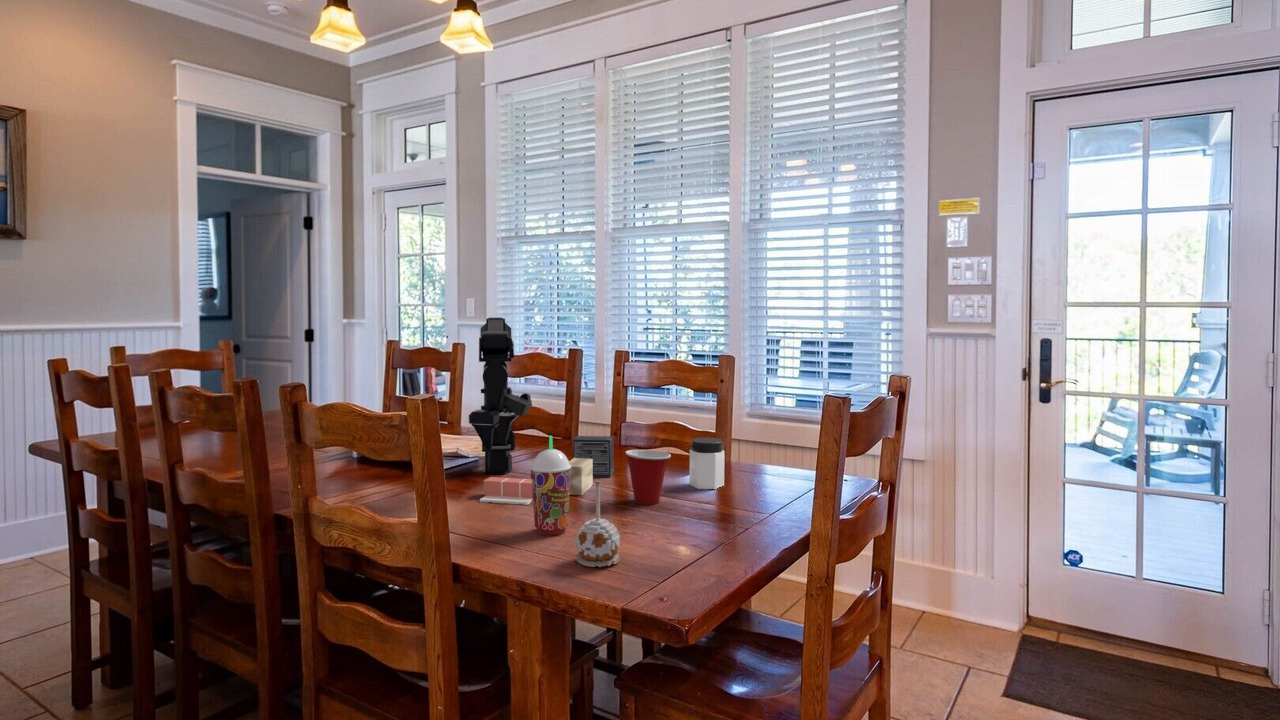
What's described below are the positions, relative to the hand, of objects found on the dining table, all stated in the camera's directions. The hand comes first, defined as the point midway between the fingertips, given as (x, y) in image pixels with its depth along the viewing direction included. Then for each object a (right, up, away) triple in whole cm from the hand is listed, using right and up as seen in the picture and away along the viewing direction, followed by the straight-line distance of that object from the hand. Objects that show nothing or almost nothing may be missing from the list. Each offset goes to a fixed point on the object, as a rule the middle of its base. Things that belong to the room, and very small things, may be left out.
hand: (496, 447), depth 178 cm
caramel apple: (+28, -16, -45) cm, 55 cm away
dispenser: (+16, -11, +7) cm, 21 cm away
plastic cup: (+37, -13, -5) cm, 39 cm away
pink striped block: (+4, -11, -1) cm, 12 cm away
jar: (+53, -11, +11) cm, 55 cm away
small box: (+22, -11, +23) cm, 34 cm away
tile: (+4, -12, -1) cm, 13 cm away
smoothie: (+17, -14, -28) cm, 36 cm away
